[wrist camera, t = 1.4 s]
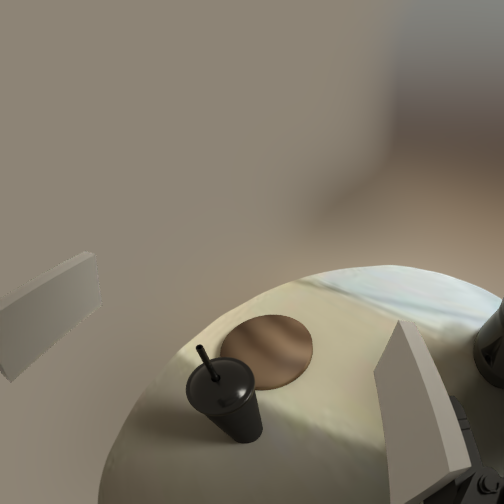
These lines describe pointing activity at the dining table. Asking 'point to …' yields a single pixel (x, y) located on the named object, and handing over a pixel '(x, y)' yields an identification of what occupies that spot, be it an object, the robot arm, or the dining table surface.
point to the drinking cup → (226, 396)
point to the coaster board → (270, 349)
